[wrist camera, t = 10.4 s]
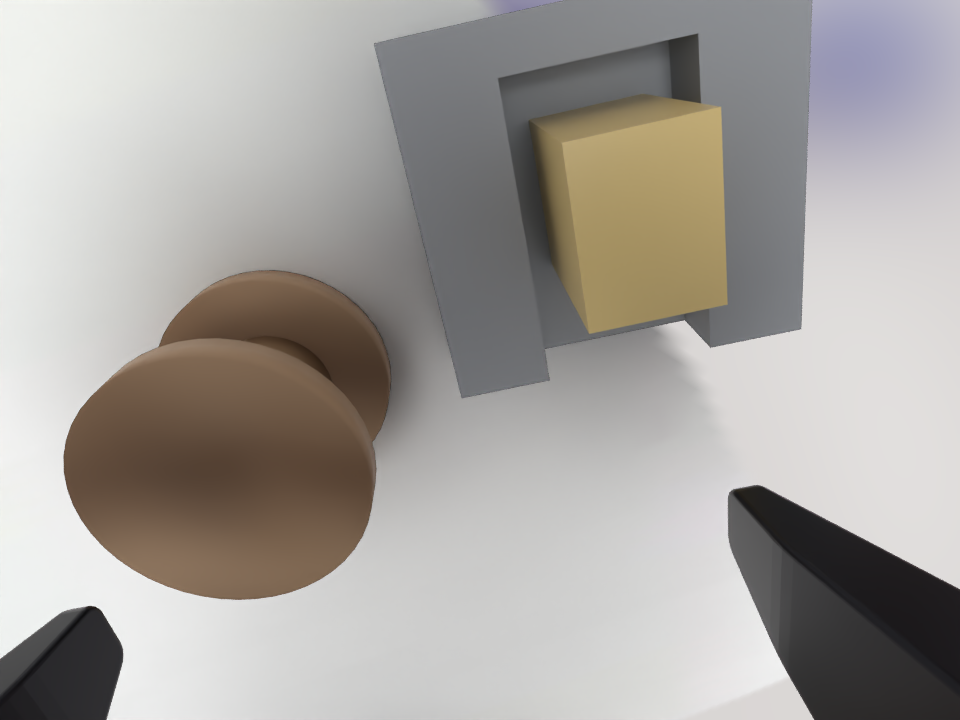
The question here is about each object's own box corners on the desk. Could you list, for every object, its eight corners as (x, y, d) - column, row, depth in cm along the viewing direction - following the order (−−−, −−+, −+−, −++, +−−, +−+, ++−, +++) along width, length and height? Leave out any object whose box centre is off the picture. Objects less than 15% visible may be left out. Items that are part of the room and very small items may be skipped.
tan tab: (655, 242, 18) (727, 304, 13) (552, 264, 18) (589, 333, 13) (642, 93, 16) (721, 106, 11) (528, 119, 16) (561, 142, 12)
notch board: (752, 292, 20) (801, 328, 17) (458, 352, 20) (461, 398, 17) (750, -37, 16) (814, -57, 13) (385, 46, 16) (373, 44, 13)
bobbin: (414, 442, 21) (404, 571, 16) (218, 481, 22) (144, 621, 16) (356, 248, 18) (320, 327, 13) (129, 297, 19) (2, 394, 13)
